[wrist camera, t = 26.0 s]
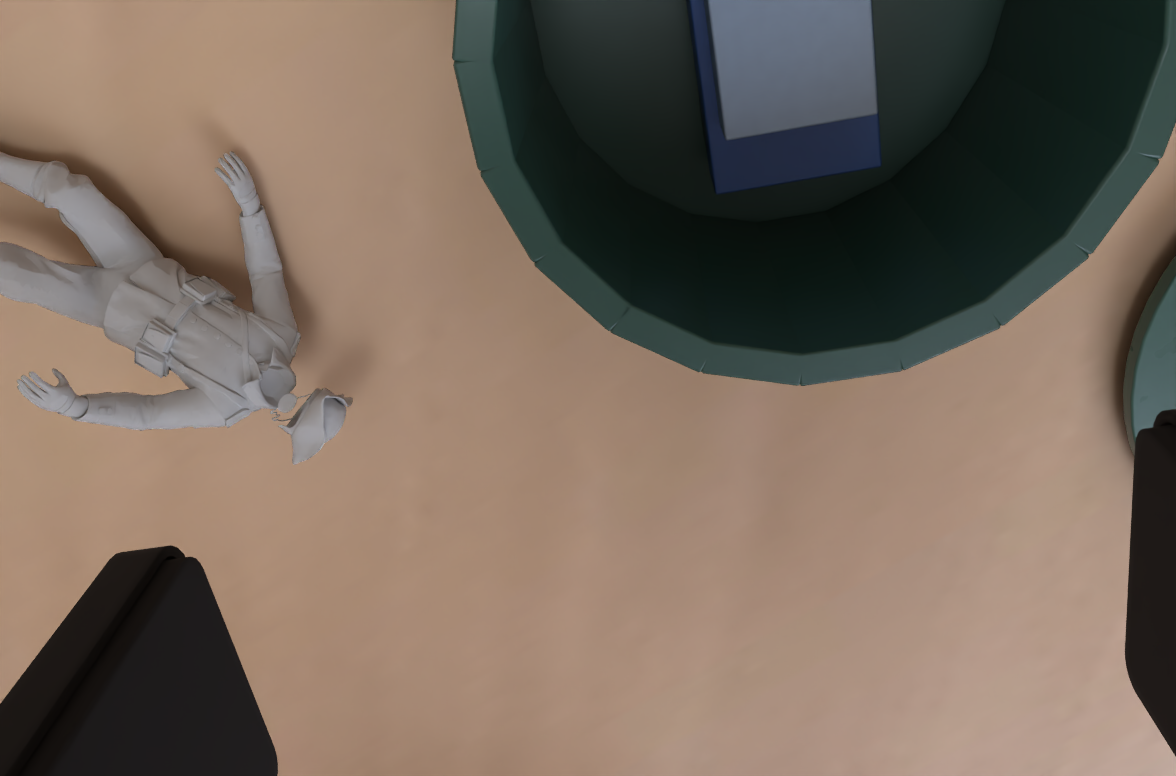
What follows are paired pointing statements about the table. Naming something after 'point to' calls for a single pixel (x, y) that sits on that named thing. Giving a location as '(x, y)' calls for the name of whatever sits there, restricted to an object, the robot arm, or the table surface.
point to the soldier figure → (167, 315)
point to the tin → (821, 205)
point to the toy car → (785, 89)
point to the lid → (1152, 359)
